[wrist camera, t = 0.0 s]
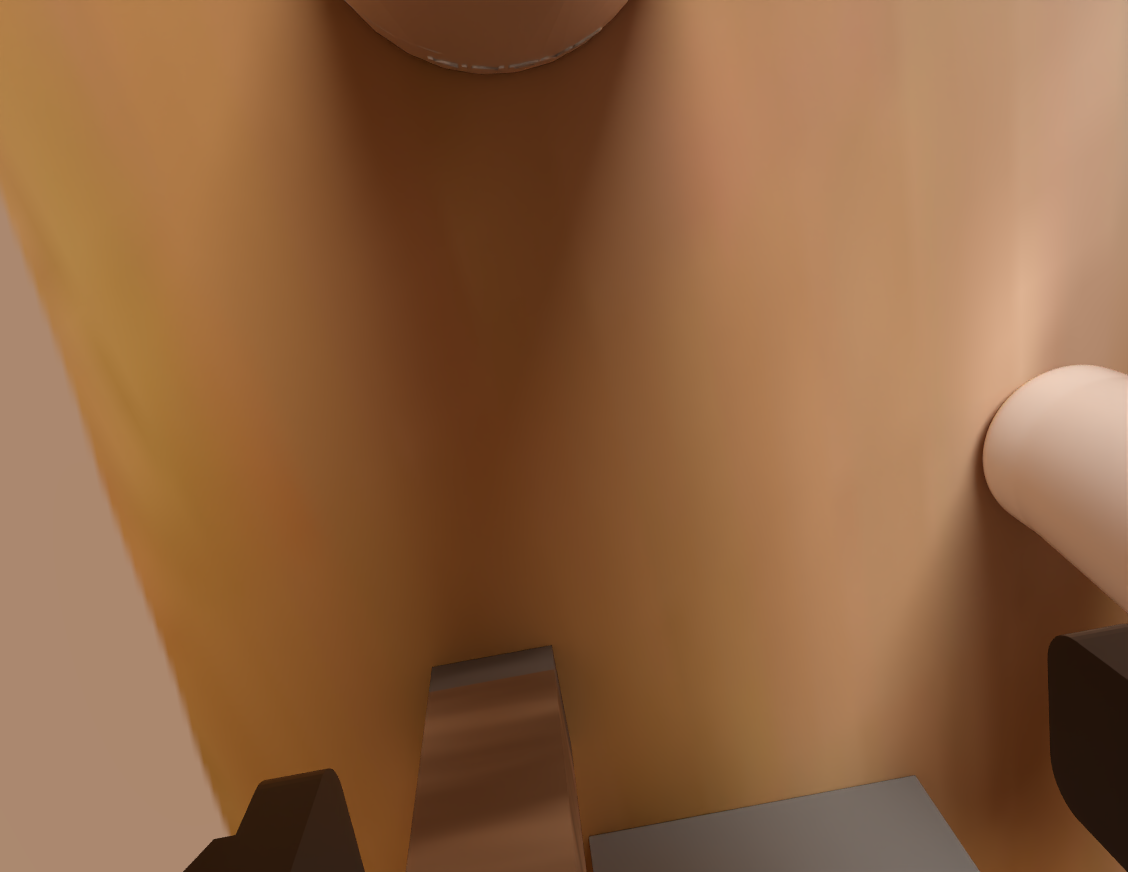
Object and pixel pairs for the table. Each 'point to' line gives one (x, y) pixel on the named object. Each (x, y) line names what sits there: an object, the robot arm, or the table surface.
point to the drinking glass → (1068, 468)
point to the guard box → (798, 836)
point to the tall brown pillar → (496, 771)
